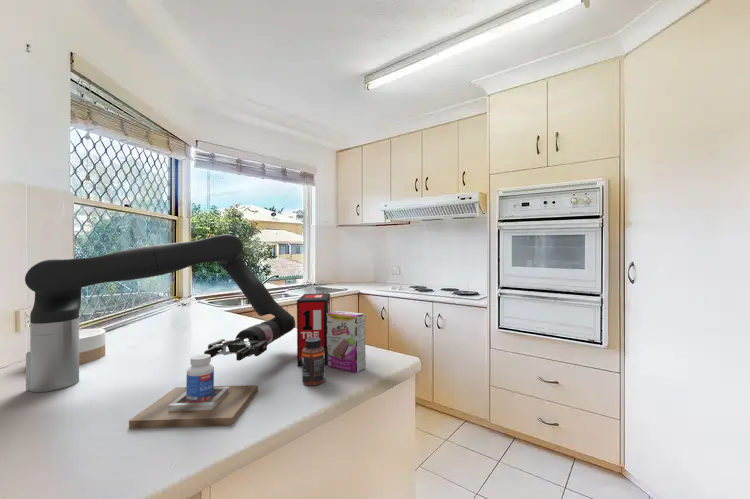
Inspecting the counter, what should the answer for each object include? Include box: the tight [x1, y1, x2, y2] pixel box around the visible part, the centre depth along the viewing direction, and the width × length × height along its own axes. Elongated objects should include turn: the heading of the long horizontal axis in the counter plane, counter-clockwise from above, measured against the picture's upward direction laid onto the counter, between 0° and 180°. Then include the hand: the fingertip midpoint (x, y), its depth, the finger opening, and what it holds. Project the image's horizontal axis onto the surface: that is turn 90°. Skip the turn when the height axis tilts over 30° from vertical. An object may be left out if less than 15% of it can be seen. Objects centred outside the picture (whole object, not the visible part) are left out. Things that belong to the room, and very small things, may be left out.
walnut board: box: [128, 384, 259, 429], centre depth 72 cm, size 20×16×3 cm
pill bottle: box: [185, 353, 215, 403], centre depth 72 cm, size 6×5×10 cm
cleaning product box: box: [296, 292, 331, 368], centre depth 107 cm, size 16×9×20 cm, turn 4°
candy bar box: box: [326, 310, 366, 374], centre depth 96 cm, size 11×5×16 cm, turn 59°
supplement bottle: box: [301, 338, 326, 386], centre depth 86 cm, size 6×6×11 cm
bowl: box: [79, 328, 106, 366], centre depth 107 cm, size 17×17×8 cm
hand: (221, 356), depth 80 cm, fingers open, 8 cm apart
